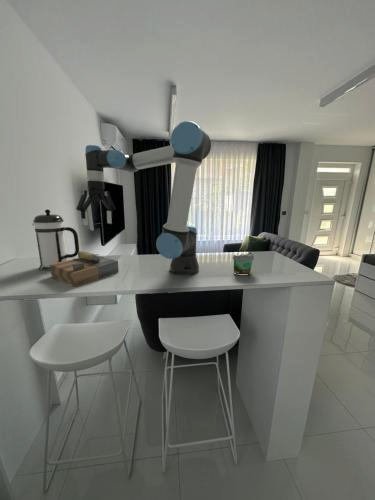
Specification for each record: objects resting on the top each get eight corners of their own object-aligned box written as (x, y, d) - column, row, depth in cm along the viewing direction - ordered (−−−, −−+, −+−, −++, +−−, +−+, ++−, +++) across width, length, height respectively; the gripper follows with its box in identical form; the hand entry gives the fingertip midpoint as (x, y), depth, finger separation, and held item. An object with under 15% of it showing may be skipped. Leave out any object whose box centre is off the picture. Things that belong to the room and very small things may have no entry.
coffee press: (45, 274, 101) (36, 210, 94) (33, 267, 110) (24, 209, 103) (81, 265, 114) (75, 209, 107) (68, 260, 124) (61, 208, 117)
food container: (240, 278, 101) (242, 258, 98) (231, 274, 106) (232, 255, 103) (257, 273, 107) (259, 254, 105) (248, 270, 112) (249, 252, 110)
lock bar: (101, 261, 101) (100, 255, 100) (94, 263, 98) (94, 256, 97) (83, 256, 109) (83, 250, 108) (77, 258, 106) (76, 251, 105)
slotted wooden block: (118, 272, 105) (117, 255, 103) (75, 286, 87) (72, 267, 85) (94, 265, 116) (93, 249, 114) (51, 276, 98) (49, 258, 96)
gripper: (112, 182, 115) (114, 221, 120) (65, 178, 95) (69, 225, 100) (121, 182, 111) (122, 223, 116) (74, 178, 91) (78, 227, 96)
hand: (98, 224), depth 108 cm, fingers open, 13 cm apart
